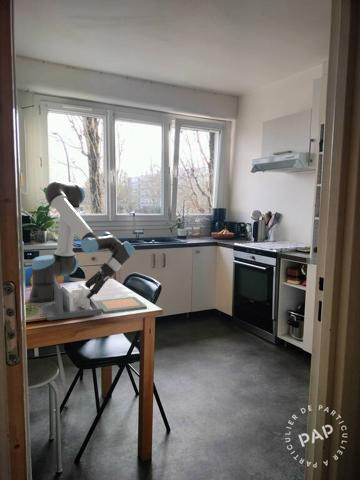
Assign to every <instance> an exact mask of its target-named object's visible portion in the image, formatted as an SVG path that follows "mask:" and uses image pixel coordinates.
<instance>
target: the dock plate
mask: <svg viewBox="0 0 360 480" xmlns="http://www.w3.org/2000/svg"><path fill="white" fill-rule="evenodd" d="M95 301H96V303H97V304H98V305H99V306H100V307H101V309H102V313H103V314H111V313H119V312H126V311H127V312H128V311H135V310H144V309H147V308H148V306H147V305H146V304H145V303H143V302H142V301H141V300H139V298H137V297H135V296H129V297H120V298H108V299H99V300H95Z"/></svg>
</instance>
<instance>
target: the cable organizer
mask: <svg viewBox="0 0 360 480" xmlns="http://www.w3.org/2000/svg"><path fill="white" fill-rule="evenodd" d="M61 287H62V296H63V309H64V310H65V312H71V311H77V310H76V309H77V308H80V310H89V309H91V308H90V307H91V306H90V305H91V304H90V299H91V298H90V299H89V300H88V301H87V303H86V304H85V305H84V304H83V303H82V302H80V300H81V299H82V298H83V297H84V296H85V295H86V294H87V293H88V292H89V290H90V289H88V288H87V287H86V286H85V284H82V283H79V284H78V286H77V288H73V289H70V288H69V287H68V286H66V285H65V286H61Z"/></svg>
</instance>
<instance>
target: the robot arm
mask: <svg viewBox="0 0 360 480" xmlns="http://www.w3.org/2000/svg"><path fill="white" fill-rule="evenodd" d="M85 194H86V193H85V190H84V188H83V186H82V185H80V183H76V182H70V181H67V182H66V181H53V182H50V183H49V184H48V185H47V186H46V187H45V192H44V196H45V200H46V202H47V203H48V205H49V206H50V208H52V209H54V210H56V212H57V213H58V214H59V219H58V220H59V221H58V232H57V233H58V234H57V242H56V243H57V245H56V249H55V251H54V252H53V255H52V254H46V255H40V256H36V257H34V258H33V259H32V261H31V265H32V266H31V269H32V271H31V272H32V273H31V274H32V287H31V290H30V294H29V301H30V302H33V303H47V302H49V303H50V302H52V301H54V280H56V278H59V277H64V276H69V275H72V274H74V273H75V272H77V269H78V267H79V260H78V258H77V256H76V254H75V252H74V249H73V247H74V238H75V235H76V236H77V238H78V239H79V240H80V241H81V243H80V247H81V250H82V251H83V252H84V253H87V254H94V253H98V252H103V251H104V252H105V251H109V253H111V255H110V256H109V257H108V258H107V259H106V260H105V262H104V263H103V264H102V265H101V266H100V267H99V269H100V270H98V271H97V272H96V273H95V274H94V275H92V276H91V277H89V279H88V280H86V281H85V283H84V286H86V287H87V288H88V289H89V292H88V293H87V294H86V295H85V296H84V297H83V298H82V299H81V300H80V302H82V303H83V304H84V305H85V304H86V303H87V301H88V300H89V299H91V298H92V297H93V296H94V295H97V294H98V293H99V292H100V291H101V289H102V288H103V287H104V285H105V283H106V282H108V281H109V278H112V277H113V276H114V275H115V273H116V272H118V270H121V267H122V266H123V265H124V264H125V263H126V262H127V261H128V260H129V258H131V257H132V256H133V254H134V253H135V252H136V248H135V247H134V246H133V245H132V244H131V243H130V242H129V241H127V240H126V241H124V242H122V241H120V240H119V239H118V238H117V237H116V236H115V235H114V234H112V233H110V231H104V232H102V233H101V234H100V235H99V236H97V234H96V233H95V232H94V231H93V230H92V228H91V227H90V226H89V225H88V224H87V223H86V221H85V220H84V219H83V217H82V216H81V215H80V214H79V212H77V211H78V210H79V209H80V204H82V203H83V202H84V201H85V196H86V195H85ZM92 286H93V287H92ZM91 287H92V288H91Z"/></svg>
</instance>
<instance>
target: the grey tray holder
mask: <svg viewBox="0 0 360 480" xmlns="http://www.w3.org/2000/svg"><path fill="white" fill-rule="evenodd" d="M62 287H63V286H61V284H60V282H59V281H58V279H55V280H54V303H52V304H44V305H43V309H44V312H45V317H46V319H47V321H55V320H64V319H71V318H80V317H87V316H88V317H89V316H97V315H101V314H103V311H102V309H101V307H100V306H99V305H98V304H97V303H96V301H97V300H95V299H94V298H92V297H91V298H90V305H91V306H92V307H93V308H90V309H89V310H84V309H80V310H73V311H71V312H67V311H64V310H63V309H64V308H63V296H62Z"/></svg>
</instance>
